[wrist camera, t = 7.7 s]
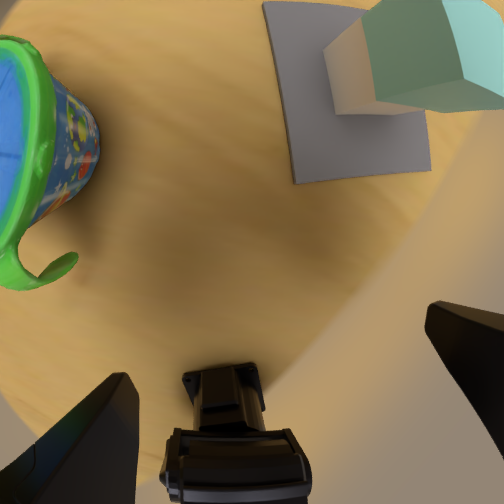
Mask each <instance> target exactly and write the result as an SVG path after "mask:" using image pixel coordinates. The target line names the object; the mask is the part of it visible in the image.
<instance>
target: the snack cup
mask: <svg viewBox="0 0 504 504" xmlns="http://www.w3.org/2000/svg"><path fill="white" fill-rule="evenodd" d="M99 138H100V134H99V129H98V127H97V124H96V121H95V120H94V118H93V116H92V114H91V112H90V110H89V109H88V107H87V106H86V105H84V104H83V103H82V102H81V101H80V100H79V99H78V98H76V96H75V95H74V94H73V93H71V92H70V91H69V90H68V89H67V88H66V87H65V86H64V85H62V84H61V83H60V82H59V81H58V80H56V79H55V78H54V77H53V76H52V75H51V74H50V73H49V71H48V69H47V67H46V65H45V63H44V62H43V60H42V57H41V54H40V53H39V51H38V50H37V49H36V48H35V47H34V46H33V45H31V43H30V41H27V40H25V39H22V38H19V37H14V36H8V35H0V285H1V286H4V287H6V288H8V289H12V290H17V291H27V290H31V289H35V288H38V287H40V286H43V285H46V284H49V283H51V282H53V281H55V280H57V279H59V278H60V277H62V276H63V275H65V274H66V273H67V272H68V271H70V270H71V269H72V268H73V266H74V265H75V264H76V263H77V261H78V258H79V256H78V253H76V252H69V253H67V254H65V255H63V256H61V257H59V258H57V259H56V260H55V261H53V262H52V263H50V264H49V265H48V267H47V268H46V269H45V270H44V271H43V272H42V273H41V274H40V275H39V277H38V278H37V277H36V276H34V275H33V274H31V273H30V272H29V271H28V270H26V269H25V268H24V267H23V265H22V264H21V262H20V260H19V257H18V244H19V242H20V240H21V237H22V236H23V234H24V233H25V231H26V230H27V229H28V228H30V227H31V226H32V225H33V224H35V223H36V222H38V221H39V220H40V219H42V218H43V217H45V216H46V215H48V214H49V213H51V212H52V211H54V210H55V209H57V208H58V207H60V206H61V205H62V204H63V203H65V202H67V201H69V200H70V199H71V198H73V197H74V196H75V195H76V194H77V193H78V192H79V191H80V190H81V189H82V188H83V187H84V186H85V184H86V183H87V182H88V180H89V179H90V177H91V175H92V173H93V171H94V168H95V165H96V163H97V162H98V160H99V154H100V147H99Z"/></svg>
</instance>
